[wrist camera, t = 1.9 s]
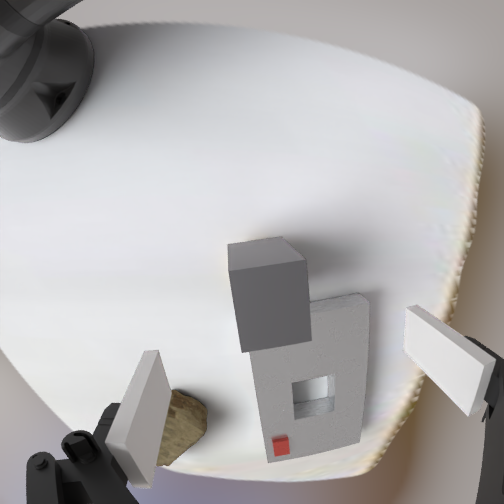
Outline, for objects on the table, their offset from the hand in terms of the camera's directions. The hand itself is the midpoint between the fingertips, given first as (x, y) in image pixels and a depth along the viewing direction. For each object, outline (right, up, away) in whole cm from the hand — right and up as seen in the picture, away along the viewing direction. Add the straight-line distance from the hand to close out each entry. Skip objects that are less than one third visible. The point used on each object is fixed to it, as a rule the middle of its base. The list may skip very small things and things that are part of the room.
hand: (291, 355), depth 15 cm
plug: (-2, +4, +17) cm, 17 cm away
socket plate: (+5, -11, +20) cm, 24 cm away
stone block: (-13, -17, +21) cm, 29 cm away
